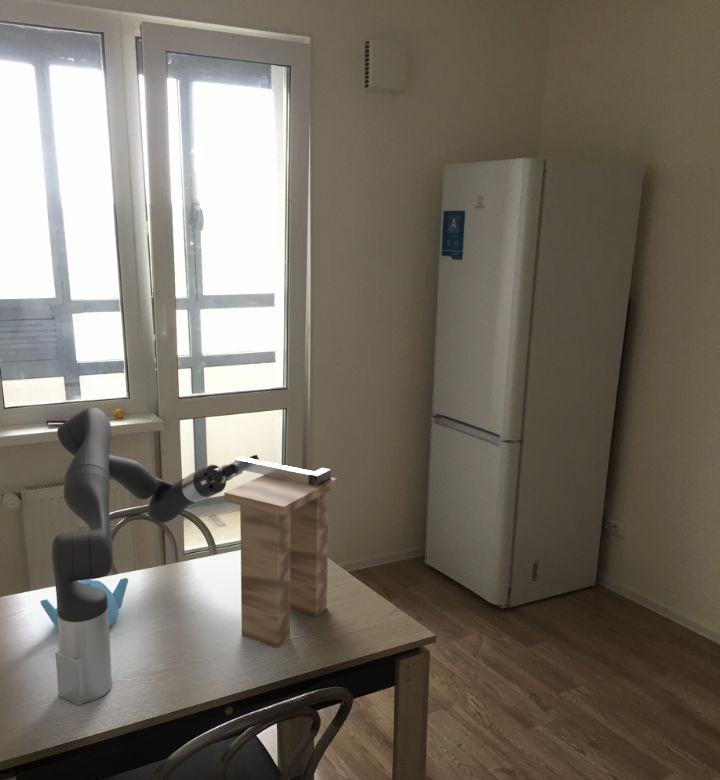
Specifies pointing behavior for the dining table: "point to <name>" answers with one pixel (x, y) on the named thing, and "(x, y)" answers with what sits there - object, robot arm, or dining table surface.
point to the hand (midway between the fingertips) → (247, 462)
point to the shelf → (281, 553)
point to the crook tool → (284, 471)
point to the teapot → (113, 599)
